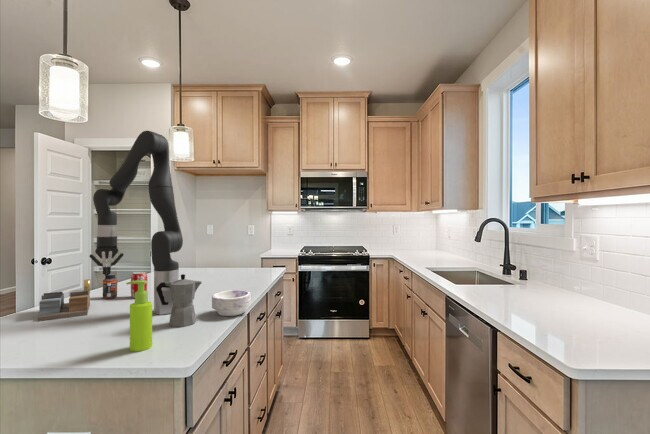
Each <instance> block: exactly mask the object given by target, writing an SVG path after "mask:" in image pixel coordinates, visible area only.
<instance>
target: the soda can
mask: <svg viewBox="0 0 650 434" xmlns="http://www.w3.org/2000/svg"><path fill="white" fill-rule="evenodd" d="M136 280H143V281H147V283H146V284H144V290H145V291H147V292H148V274H147V272H146V271H134V272H132V275H131V277H130V282H131V281H136ZM137 291H138V284H130V296H131V298H133V299H135V292H137Z"/></svg>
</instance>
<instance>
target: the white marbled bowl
mask: <svg viewBox="0 0 650 434" xmlns="http://www.w3.org/2000/svg"><path fill="white" fill-rule="evenodd" d="M251 300H252V299H251V292H250V291H247V290H243V289H241V290H240V289H238V290H237V289H232V290H224V291H223V290H222V291H220V292H216V293H214V294H212V295H211V309H213V310H216V312H217V313H218V315H220V316H222V317H236V316H239V315H242V314H244V313H245V311H246V309H247V308H249V307H250V306H251V303H252V301H251Z"/></svg>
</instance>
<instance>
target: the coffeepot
mask: <svg viewBox="0 0 650 434" xmlns="http://www.w3.org/2000/svg"><path fill="white" fill-rule="evenodd" d="M201 284H203V283H202V281H200V280H193V279H187V278H186V274H184V273H183V274H180V279H179V280H177V281H174V282H161V283H160V284H159V285H158V286H157V288H156V291H157V293H158V295H159V298H160V301H161V303H162V305H168V303H169V302H165V299H164V296H163V292H162V290H161V288H163V287H165V288H170V293H171V300H172V302H173V307H172V310H171V313H170V316H169V323H168V324H169V326H170V327H173V328H184V327H185V328H186V327H190V326H192V325H194V324H195V323H196V322H197V317H196V312H195V305H194V303H193V301H194V300H195V295H196V292H197V290H198V289H199V287H200V285H201Z"/></svg>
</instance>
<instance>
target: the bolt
mask: <svg viewBox="0 0 650 434" xmlns="http://www.w3.org/2000/svg"><path fill="white" fill-rule="evenodd" d="M91 280H92V279H83V289H76V290H77V291H75V290H70V291H69V292H68V296H69V297H70V293H74V292H84V291H88V294H91V289H92V288H91V283H92V281H91Z"/></svg>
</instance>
